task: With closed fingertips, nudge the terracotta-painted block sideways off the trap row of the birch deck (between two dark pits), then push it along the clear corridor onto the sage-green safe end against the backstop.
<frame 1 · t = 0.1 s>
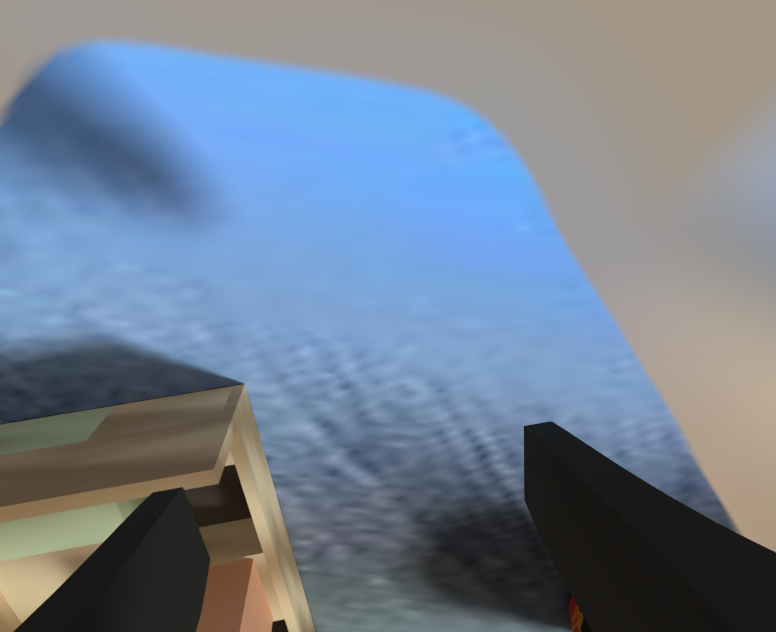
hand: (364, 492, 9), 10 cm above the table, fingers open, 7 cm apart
canned food: (622, 591, 28), on the table
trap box: (165, 550, 22), on the table
block: (220, 598, 20), point 2 cm above the table, touching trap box
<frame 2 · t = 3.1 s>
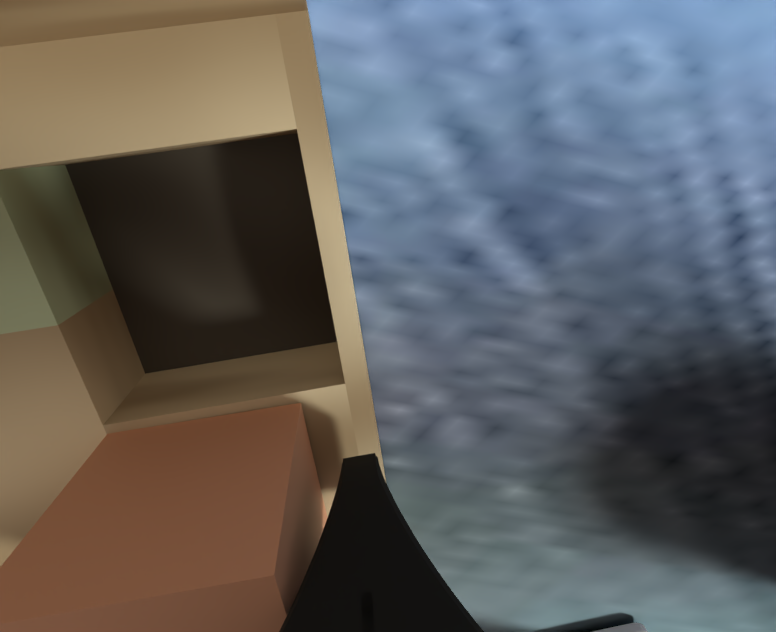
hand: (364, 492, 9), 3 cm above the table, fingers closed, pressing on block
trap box: (144, 414, 12), on the table
block: (229, 492, 10), point 2 cm above the table, touching gripper, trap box
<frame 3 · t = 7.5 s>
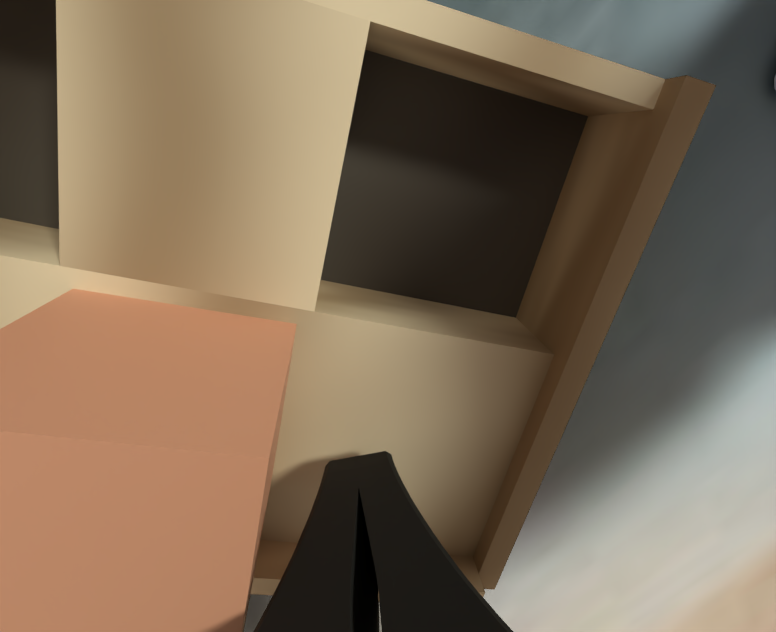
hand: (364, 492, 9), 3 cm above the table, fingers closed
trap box: (177, 270, 10), on the table
block: (183, 397, 9), point 2 cm above the table, touching gripper, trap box
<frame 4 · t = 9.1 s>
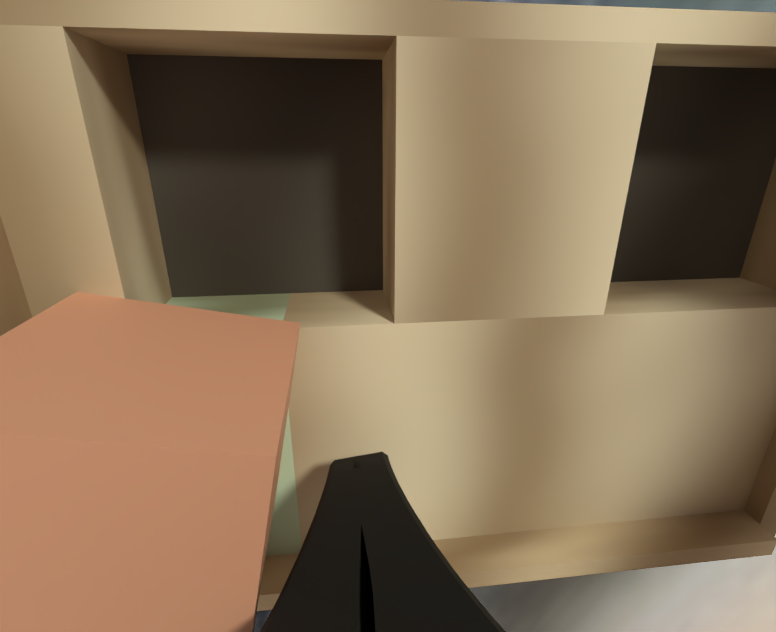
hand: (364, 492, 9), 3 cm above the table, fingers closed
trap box: (430, 304, 11), on the table
block: (188, 399, 9), point 2 cm above the table, touching gripper, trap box
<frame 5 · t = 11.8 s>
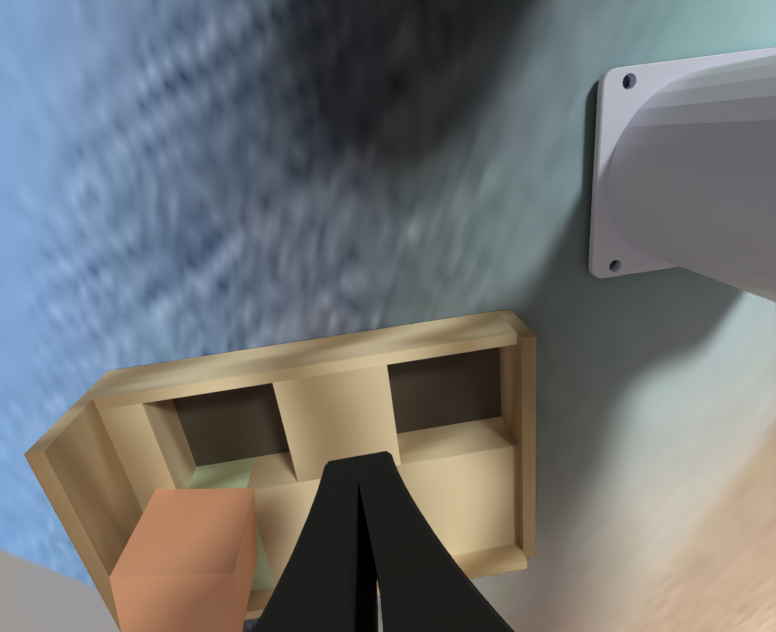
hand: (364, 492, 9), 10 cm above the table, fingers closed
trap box: (330, 450, 21), on the table
block: (209, 524, 19), point 2 cm above the table, touching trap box
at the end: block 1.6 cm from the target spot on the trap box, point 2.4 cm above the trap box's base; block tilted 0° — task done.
